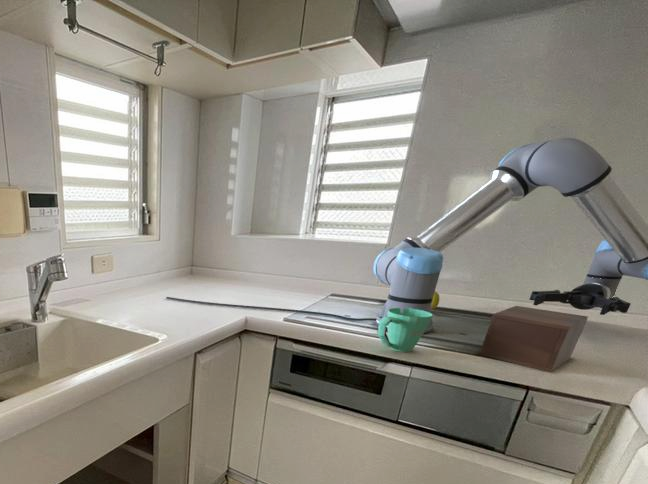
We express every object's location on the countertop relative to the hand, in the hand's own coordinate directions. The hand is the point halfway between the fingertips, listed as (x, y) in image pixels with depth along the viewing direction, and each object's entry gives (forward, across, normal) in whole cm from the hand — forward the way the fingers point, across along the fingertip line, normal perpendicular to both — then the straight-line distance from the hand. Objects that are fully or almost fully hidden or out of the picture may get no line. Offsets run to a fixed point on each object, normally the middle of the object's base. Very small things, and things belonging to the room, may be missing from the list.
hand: (568, 304), depth 110 cm
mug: (+47, +21, -10) cm, 52 cm away
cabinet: (+25, 0, -10) cm, 27 cm away
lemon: (-6, +36, -10) cm, 38 cm away
